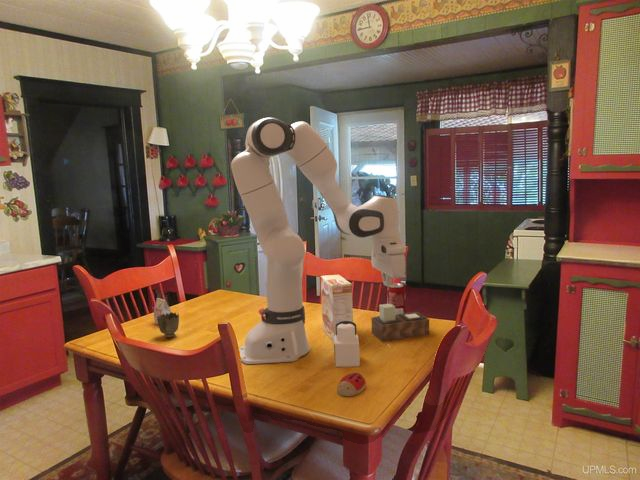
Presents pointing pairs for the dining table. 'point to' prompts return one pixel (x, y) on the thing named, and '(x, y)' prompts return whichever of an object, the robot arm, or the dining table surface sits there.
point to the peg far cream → (412, 315)
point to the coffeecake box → (335, 302)
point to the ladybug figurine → (351, 385)
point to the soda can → (397, 297)
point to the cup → (168, 324)
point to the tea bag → (160, 308)
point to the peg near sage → (387, 312)
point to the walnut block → (400, 327)
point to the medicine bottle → (346, 345)
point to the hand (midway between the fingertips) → (387, 285)
